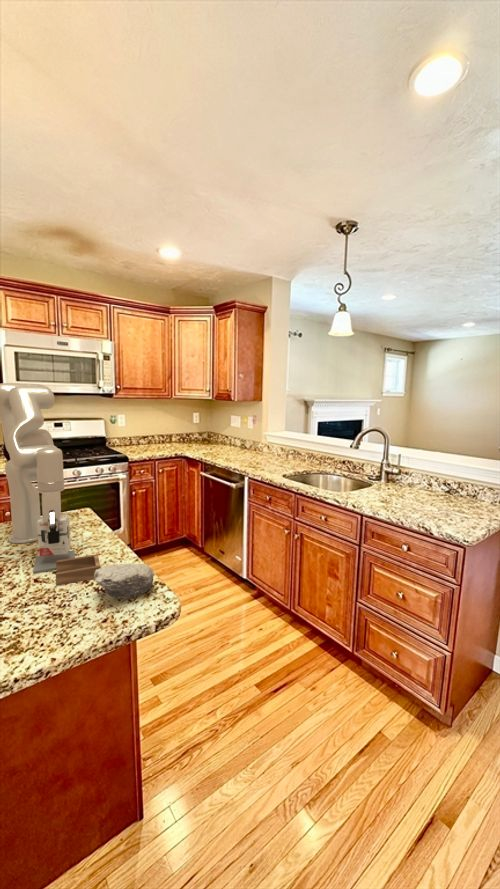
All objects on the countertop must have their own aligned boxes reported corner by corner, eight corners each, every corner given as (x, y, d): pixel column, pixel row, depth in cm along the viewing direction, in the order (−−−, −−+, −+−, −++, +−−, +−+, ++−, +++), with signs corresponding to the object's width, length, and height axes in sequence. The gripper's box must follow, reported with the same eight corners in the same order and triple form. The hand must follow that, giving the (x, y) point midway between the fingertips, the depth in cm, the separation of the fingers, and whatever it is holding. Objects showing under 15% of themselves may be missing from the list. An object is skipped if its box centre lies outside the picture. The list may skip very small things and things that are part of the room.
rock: (157, 599, 105) (162, 569, 103) (96, 615, 95) (100, 583, 92) (143, 576, 113) (148, 548, 111) (86, 589, 103) (90, 558, 101)
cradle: (56, 571, 116) (56, 560, 115) (98, 563, 121) (97, 554, 121) (56, 586, 107) (55, 574, 107) (100, 577, 112) (100, 566, 112)
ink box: (38, 556, 118) (36, 521, 116) (43, 550, 122) (41, 516, 121) (67, 554, 120) (65, 519, 118) (71, 548, 124) (69, 514, 123)
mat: (35, 558, 124) (35, 556, 124) (74, 552, 130) (74, 550, 130) (33, 574, 114) (33, 571, 114) (75, 566, 119) (75, 564, 119)
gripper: (39, 481, 124) (42, 532, 126) (36, 493, 109) (39, 551, 111) (64, 479, 128) (66, 529, 130) (64, 491, 112) (67, 547, 115)
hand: (54, 539), depth 120 cm, fingers closed on ink box, 5 cm apart
